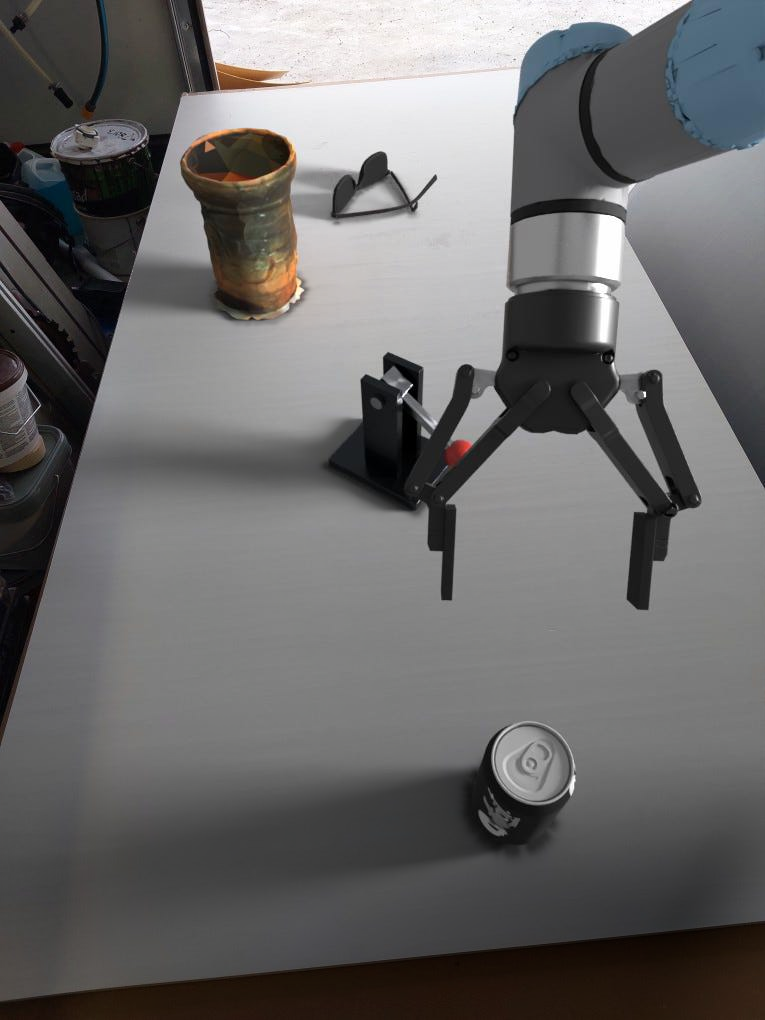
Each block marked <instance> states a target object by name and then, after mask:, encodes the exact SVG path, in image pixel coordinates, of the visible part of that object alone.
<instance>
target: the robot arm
mask: <svg viewBox="0 0 765 1020" xmlns="http://www.w3.org/2000/svg"><path fill="white" fill-rule="evenodd" d="M518 80H519V81H518V90H517V97H516V98H517V100H516V105H514V112H513V114H512V125H513V146H512V147H513V149H512V166H511V167H512V171H511V189H510V190H511V193H510V209H509V210H510V211H509V213H510V214H509V217H510V220H509V235H508V236H509V238H508V249H507V250H508V253H507V267H506V283H505V287H506V288H507V289H508V290H509V291H510V292H511V293H513V295H512V296H510V297H508V299H507V301H506V302H505V303H504V311H503V312H504V313H503V316H504V317H503V332H502V348H501V349H502V350H501V359H500V363H499V365H498V368H497V370H491V369H483V368H477V367H474V366H473V365H471V364H469V363H464V364H462V365H460V366H459V367H458V368H457V370H456V373H455V376H454V383H453V389H452V395H451V399H450V400H449V402H448V404H447V405H446V408H444V409H445V410H444V411H443V413H442V415H441V417H440V419H439V420H438V421H437V422H438V424H437V426H436V428H435V429H434V431H433V433H432V435H430V437H429V438H428V439H429V440H428V442H427V444H426V446H425V448H424V449H423V451H422V453H421V455H420V457H419V458H418V460H417V462H416V464H415V466H414V468H413V469H412V471H411V473H410V475H409V477H408V478H407V480H406V483H405V486H404V491H405V493H406V495H408V496H410V497H414V498H416V499H419V500H421V501H423V503H424V504H425V505H426V506H427V509H428V513H427V514H428V515H427V516H428V517H427V518H428V519H427V538H426V539H427V543H426V544H427V547H428V549H429V552H442V554H441V572H440V573H441V574H440V575H441V577H440V579H441V580H440V597H441V598H440V599H441V601H448V602H449V601H453V590H454V570H455V569H454V568H455V553H456V552H455V550H456V530H457V507H456V504H453V503H448V502H449V501H450V500H451V498H452V497H454V495H455V494H456V493H457V492H459V490H460V489H461V488H462V487H463V486H464V485H465V484H466V482H467V481H469V479H470V478H471V477H472V476H473V475H474V474H475V473H476V472H477V471H478V470H479V468H481V466H482V465H484V463H485V462H486V461H487V460H488V459H489V458H490V457H491V456H492V455H493V454H494V452H495V451H497V449H498V448H499V447H500V446H501V445H502V444H503V443H504V442H505V441H506V440H507V439H508V438H509V437H511V435H513V433H515V432H516V430H517V429H518V428H520V429H522V430H523V431H525V432H527V433H530V434H547V433H551V432H555V433H559V434H563V435H576V436H577V435H579V434H581V433H583V432H585V431H586V432H587V434H588V435H589V436H590V437H591V438H592V439H593V440H594V441H595V442H596V444H597V445H598V446H599V448H601V450H602V452H603V453H604V454H605V456H606V457H607V458H608V459H609V461H610V462H611V463H612V464H613V466H614V467H615V468H616V470H617V471H618V473H619V474H620V475H621V477H622V478H623V479H624V481H625V482H626V483H627V484H628V486H629V487H630V488H631V490H632V491H633V492H634V494H635V495H636V497H638V499H639V500H640V501H641V503H642V504H643V506H644V507H645V508H646V511H645V512H644V511H633V517H632V518H633V519H632V531H631V542H630V550H629V551H630V553H629V565H628V574H627V575H628V577H627V587H626V598H625V599H626V601H627V602H628V603H630V604H631V605H632V606H633V607H634V608H635V609H636V610H637V611H649V609H650V598H651V586H652V576H653V566H654V562H665V559H666V558H667V556H668V550H669V543H670V542H669V539H670V530H671V520H672V519H673V518H675V517H676V516H677V515H678V512H681V511H684V510H687V509H697V508H698V507H700V506H701V504H702V502H703V496H702V493H701V491H700V488H699V486H698V484H697V481H696V478H695V476H694V474H693V471H692V469H691V466H690V464H689V462H688V459H687V457H686V454H685V452H684V449H683V446H682V444H681V442H680V439H679V437H678V435H677V431H676V429H675V427H674V425H673V422H672V420H671V417H670V415H669V412H668V410H667V407H666V405H665V398H664V397H665V396H664V395H665V393H664V374H663V373H662V372H661V370H658V369H649V370H644V371H639V372H638V373H627V374H619V372H618V370H617V367H616V352H617V351H616V350H617V339H618V328H619V313H620V302H619V300H617V297H615V296H614V295H612V293H613V292H615V291H616V290H618V289H619V288H620V287H621V285H622V279H623V263H624V262H623V261H624V249H625V248H624V247H625V236H626V235H625V233H626V225H627V214H628V211H627V210H628V202H629V201H628V200H629V191H630V186H631V185H634V184H638V183H641V182H645V181H649V180H650V179H652V178H655V177H656V176H659V175H662V174H665V173H668V172H670V171H674V170H677V169H681V168H683V167H687V166H689V165H692V164H696V163H698V162H699V163H700V162H702V161H704V160H708V159H710V158H713V157H716V156H720V155H722V154H726V153H728V152H732V151H734V150H736V151H743V150H747V149H751V148H754V147H757V146H758V145H760V143H763V142H764V141H765V0H689V1H688V2H686V3H685V4H682V5H681V6H679V7H678V8H676V9H675V10H673V11H671V12H669V13H668V14H666V15H665V16H663V17H662V18H660V19H658V20H657V21H655V22H654V23H652V24H650V25H648V26H647V27H645V28H644V29H641V30H640V31H639V32H636V33H635V34H634V35H632V34H631V33H630V31H628V30H627V29H625V28H623V27H621V26H619V25H616V24H614V23H607V22H601V21H583V22H576V23H572V24H570V26H569V27H568V28H566V29H553V30H551V31H549V32H547V33H545V34H544V35H542V36H541V37H539V38H537V40H535V41H534V43H532V44H531V45H530V46H529V48H528V49H527V50H526V52H525V54H524V57H523V58H522V61H521V64H520V70H519V79H518ZM488 387H493V389H494V391H495V392H496V394H497V395H498V397H499V398H500V400H501V402H502V403H503V405H504V406H505V409H504V410H503V411H502V412H501V413H500V414H499V415H498V416H497V417H496V418H495V419H494V420H493V421H492V423H491V424H490V425H489V427H488V428H487V429H486V430H485V431H484V432H483V433H482V434H481V435H480V436H479V437H478V439H476V441H475V442H474V443H473V444H471V445H472V446H471V447H470V448H469V449H468V450H467V452H466V453H465V454H464V455H463V456H462V457H461V458H460V459H459V460H458V461H457V462H456V463H455V464H454V466H453V467H452V468H450V469H449V470H448V471H447V473H446V474H445V475H444V476H443V477H442V478H441V480H440V481H439V482H438V483H437V484H436V485H432V484H430V483H427V480H428V478H429V476H430V474H431V472H432V471H433V469H434V467H435V465H436V463H437V462H438V460H439V458H440V456H441V454H442V453H443V451H444V449H445V447H446V445H447V444H448V442H449V440H450V438H451V437H453V435H454V433H455V431H456V430H457V428H458V425H459V424H460V423H461V420H462V418H463V417H464V415H465V413H466V411H467V409H468V408H469V405H470V402H471V400H476V399H479V398H481V397H482V395H483V394H484V392H485V390H486V389H487V388H488ZM619 391H620V392H622V393H623V394H624V396H625V398H626V401H627V402H628V403H629V404H631V405H635V410H636V413H637V417H638V420H639V421H640V424H641V427H642V429H643V432H644V434H645V436H646V440H647V441H648V443H649V446H650V448H651V451H652V453H653V456H654V459H655V461H656V463H657V465H658V466H657V467H658V468H659V470H660V472H661V475H662V478H663V480H664V482H665V483H664V484H665V485H666V487H667V489H668V491H667V492H665V490H664V489H663V487H661V485H660V484H659V482H658V480H656V479H655V477H654V476H653V475H652V473H651V472H650V471H649V469H648V468H647V467H646V465H645V464H644V462H643V461H642V460H641V458H640V457H639V456H638V455H637V453H636V452H635V451H634V449H633V448H632V447H631V445H630V444H629V443H628V441H627V440H626V439H625V438H624V437H625V436H623V435H622V434H621V432H620V429H619V427H618V425H617V424H616V423H615V421H614V420H613V419H612V417H611V416H610V415H609V413H608V412H607V411H606V410H605V409H606V408H607V406H608V405H609V404H610V403H611V402H612V400H613V399H614V398H615V397H616V396H617V394H618V393H619Z"/></svg>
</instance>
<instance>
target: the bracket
mask: <svg viewBox="0 0 765 1020" xmlns="http://www.w3.org/2000/svg"><path fill="white" fill-rule="evenodd" d="M393 366H395V367H396V368H397V369H398V370H399V371H400V372H401V373H402V374H403V376H404V377H405V378H406V379H407V380H408V381H409V382H410V383H411V384H412V385H413V386H412V387H411V388H410V389H409V390H408V391H407V392H408V393H409V394H410V395H411V396H412V397H413V398H414V399H415V400H416V401H417V402H418V403H419V404H420V405H421V406H422V407H423V400H424V399H423V397H424V372H425V371H424V370H425V369H424V368H425V367H424V366H422V365H420V364H418V363H416V362H413V361H410V360H409V359H406V358H403V357H401V356H399V355H396V354H394V353H392V352H390V351H387V352H386V353H385V354H384V355H382V377H383V376H384V375H385V374H386V373H387V372H388V371H389V370H390V369H391V368H392V367H393ZM359 382H360V396H361V397H360V398H361V399H360V400H361V415H362V422H361V423H360V424H359V426H358V427H357V428H356V429H355V430H354V431H353V432H352V433H351V434H350V435H349V436H348V437H347V438H346V440H344V442H342V444H341V445H340V446H339V447H338V448H337V449H336V450H335V451H334V452H333V453H332V455H331V456H330V457H329V458H328V459H327V462H328V466H329V467H330V468H332V469H334V470H337V471H338V472H341V473H342V474H343V475H345V476H348V477H350V478H351V479H354V480H355V481H358V482H360V483H361V484H363V485H365V486H367V487H369V488H371V489H373V490H375V491H377V492H379V493H380V494H382V495H385V496H386V497H388V498H390V499H392V500H394V501H396V502H398V503H400V504H401V505H403V506H406V508H410V509H411V510H413V511H415V512H416V511H417V510H418V509H419V508H420V507H421V505H422V504H423V503H424V502H423V501H421V500H419V499H416V498H414V497H410V496H408V495H406V493H405V491H404V486H405V483H406V480H407V478H408V477H409V475H410V473H411V471H412V469H413V468H414V466H415V464H416V462H417V460H418V458H419V457H420V455H421V453H422V451H423V449H424V448H425V446H426V444H427V442H428V440H429V438H427V437H425V436H424V435H422V426H421V425H420V424H419V423H418V422H417V421H416V420H415V419H414V418H413V417H412V416H411V414H410V413H409V412H408V411H407V410H406V409H405V408H404V407H403V406H402V390H400V389H398V388H396V387H394V386H391V385H389V384H387V383H385V382H383V381H380V379H378V378H376V377H374V376H372V375H369V374H367V373H365V374H364V375H363V376H362V377H361V378H360V380H359ZM450 469H451V467H450V466H449V465H448V464H447V462H446V460H445V449H444V451H443V453H442V454H441V456H440V458H439V460H438V462H437V463H436V465H435V467H434V469H433V471H432V472H431V474H430V476H429V478H428V480H427V483H430V484H432V485H436V484H437V483H438V482H439V481H440V480H441V478H442V477H443V476H444V475H445V474H446V473H447V472H448V471H449V470H450Z"/></svg>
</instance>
